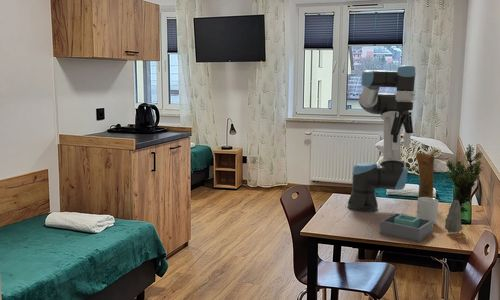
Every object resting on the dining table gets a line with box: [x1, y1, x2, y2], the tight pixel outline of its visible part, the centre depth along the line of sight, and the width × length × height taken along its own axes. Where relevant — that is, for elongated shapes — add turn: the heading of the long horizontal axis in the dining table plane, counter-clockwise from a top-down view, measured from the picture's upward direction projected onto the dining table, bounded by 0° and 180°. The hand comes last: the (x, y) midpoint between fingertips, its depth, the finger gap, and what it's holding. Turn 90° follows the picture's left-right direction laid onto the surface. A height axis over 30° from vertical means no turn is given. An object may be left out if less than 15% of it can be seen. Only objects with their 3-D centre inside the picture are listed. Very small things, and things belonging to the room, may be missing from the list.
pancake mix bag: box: [415, 151, 435, 199], centre depth 252 cm, size 7×19×28 cm, turn 0°
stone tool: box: [444, 199, 463, 234], centre depth 206 cm, size 8×3×15 cm, turn 98°
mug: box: [416, 197, 439, 225], centre depth 222 cm, size 12×9×11 cm
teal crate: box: [394, 214, 420, 228], centre depth 204 cm, size 8×8×6 cm
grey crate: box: [379, 213, 434, 243], centre depth 204 cm, size 17×17×6 cm
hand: (400, 148), depth 214 cm, fingers open, 13 cm apart
